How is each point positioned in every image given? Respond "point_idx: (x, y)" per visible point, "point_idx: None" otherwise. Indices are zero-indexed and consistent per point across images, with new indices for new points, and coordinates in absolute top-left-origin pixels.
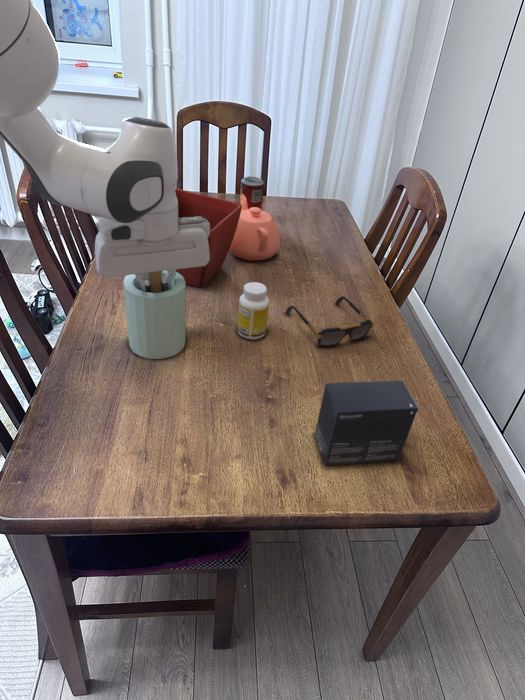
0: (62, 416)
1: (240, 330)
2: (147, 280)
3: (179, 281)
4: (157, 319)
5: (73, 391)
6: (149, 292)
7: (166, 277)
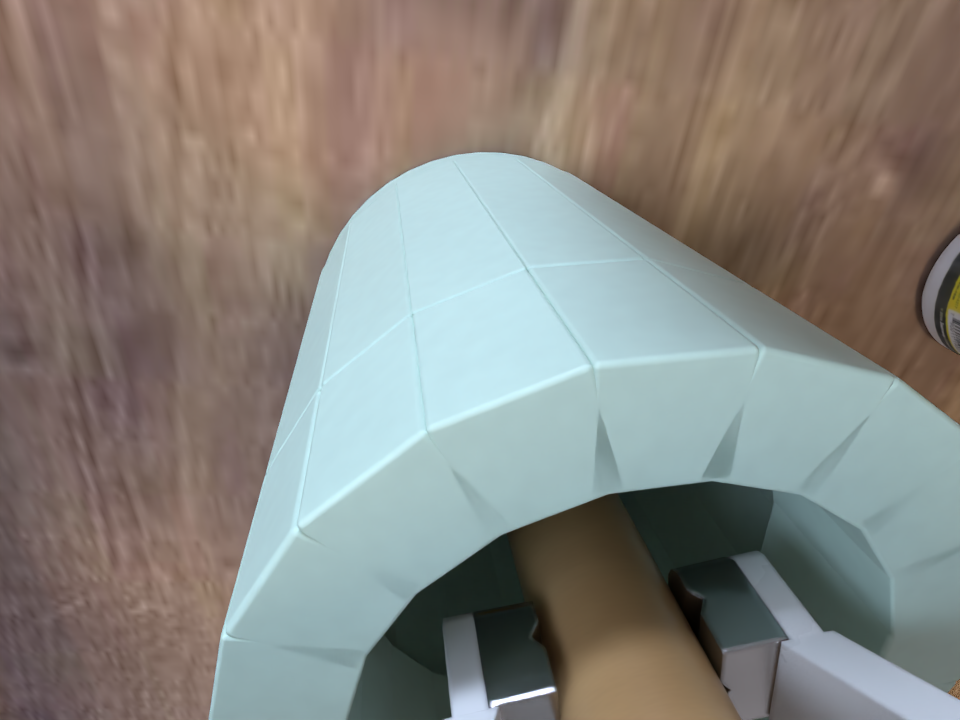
0: (102, 710)
1: (947, 322)
2: (547, 698)
3: None
4: None
5: (101, 616)
6: (525, 598)
7: (807, 690)
